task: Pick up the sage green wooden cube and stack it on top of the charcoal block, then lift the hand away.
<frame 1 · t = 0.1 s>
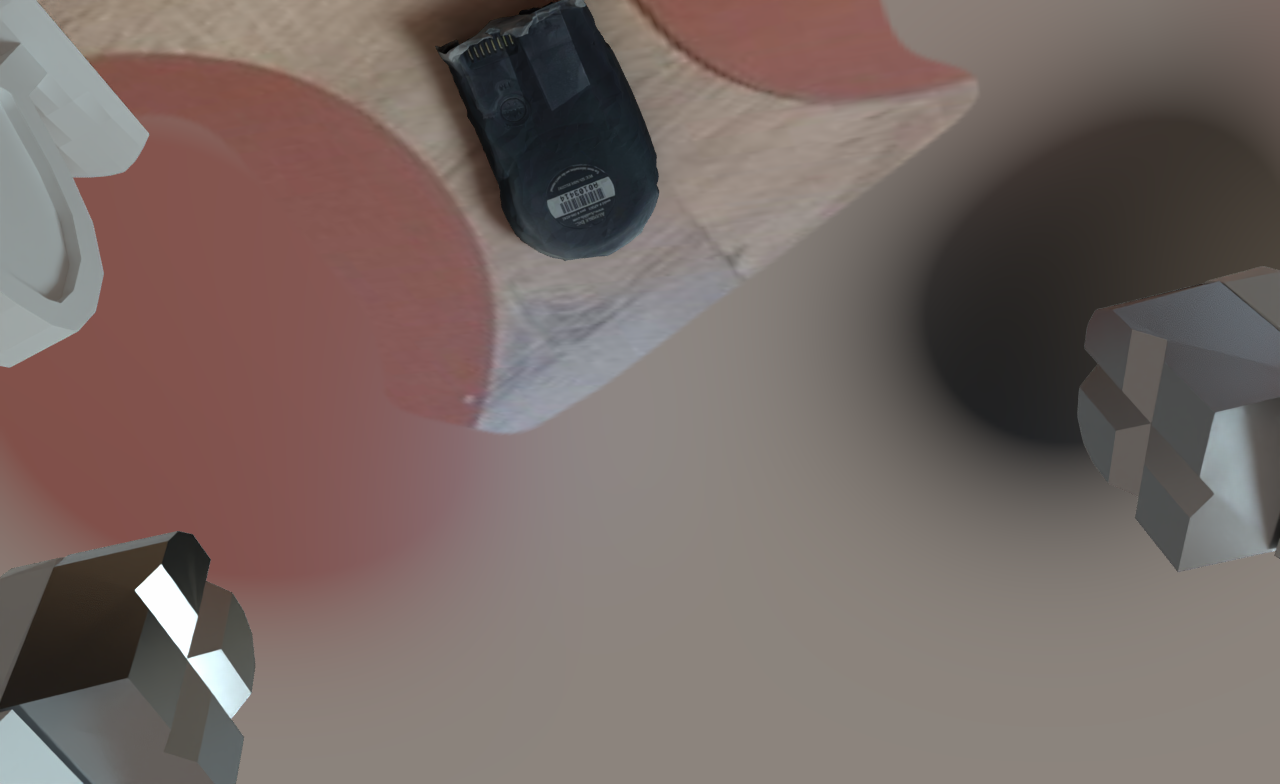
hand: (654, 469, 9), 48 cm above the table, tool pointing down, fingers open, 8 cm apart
black rounded flattened block: (559, 129, 58), on the table
heart sculpture: (27, 59, 51), on the table
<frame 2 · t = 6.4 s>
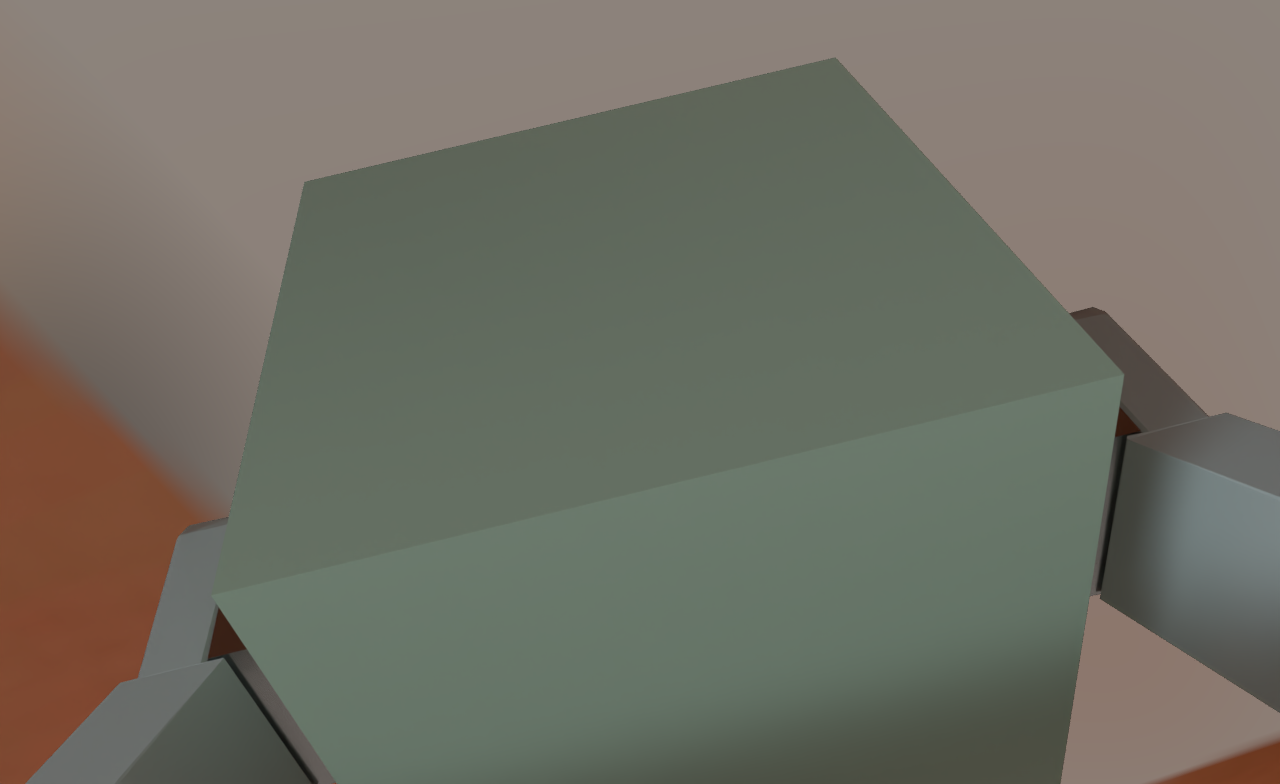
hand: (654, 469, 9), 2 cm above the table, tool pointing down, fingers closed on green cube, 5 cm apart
green cube: (621, 337, 11), on the table, touching gripper
when the fingers open (7 cm above the table, at t = 12.5 s): green cube stays where it is, resting on charcoal block.
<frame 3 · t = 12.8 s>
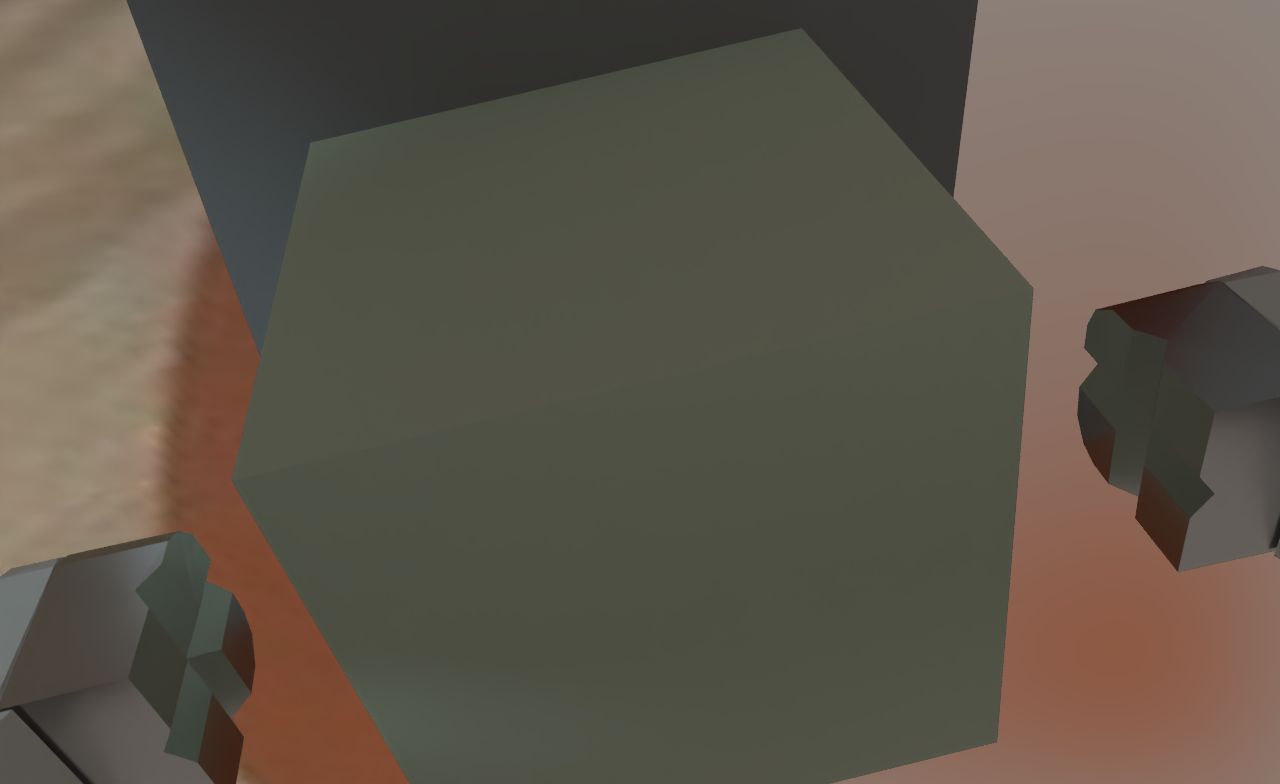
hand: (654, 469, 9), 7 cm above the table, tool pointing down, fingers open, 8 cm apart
charcoal block: (573, 146, 15), on the table
green cube: (605, 293, 12), point 4 cm above the table, touching charcoal block
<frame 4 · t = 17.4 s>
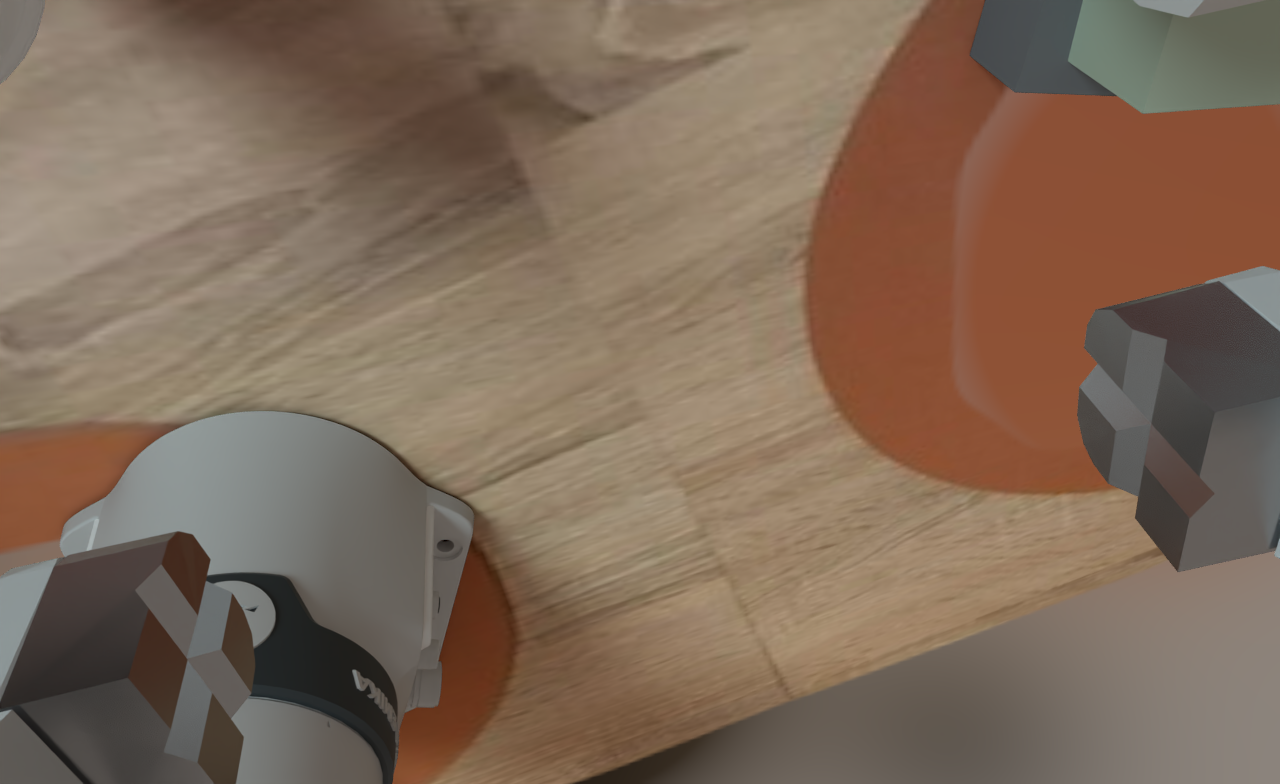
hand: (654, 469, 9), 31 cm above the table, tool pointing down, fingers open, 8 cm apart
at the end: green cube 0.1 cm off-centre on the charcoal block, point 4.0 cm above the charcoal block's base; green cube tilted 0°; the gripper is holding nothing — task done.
